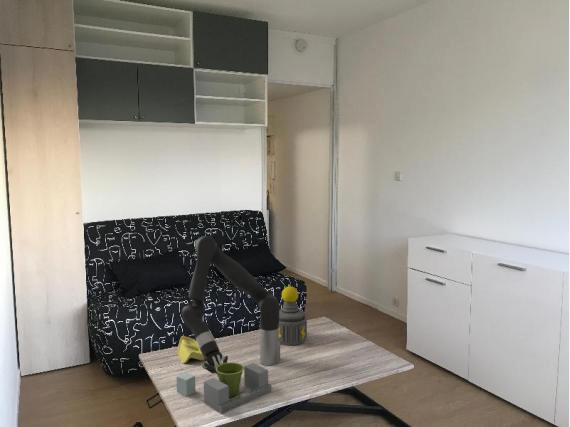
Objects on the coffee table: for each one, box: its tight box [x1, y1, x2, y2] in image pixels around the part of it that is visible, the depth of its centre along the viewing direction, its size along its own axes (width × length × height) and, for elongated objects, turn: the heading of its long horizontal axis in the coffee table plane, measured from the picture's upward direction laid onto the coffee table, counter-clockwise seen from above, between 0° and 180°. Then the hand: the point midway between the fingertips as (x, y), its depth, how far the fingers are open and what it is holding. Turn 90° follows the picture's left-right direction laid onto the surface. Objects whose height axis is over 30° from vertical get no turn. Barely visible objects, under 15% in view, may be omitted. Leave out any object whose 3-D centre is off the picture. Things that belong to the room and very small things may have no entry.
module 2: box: [203, 377, 230, 413], centre depth 189 cm, size 5×10×9 cm, turn 44°
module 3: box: [243, 362, 269, 390], centre depth 203 cm, size 5×10×9 cm, turn 44°
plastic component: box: [177, 335, 205, 364], centre depth 239 cm, size 20×7×10 cm
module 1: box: [175, 372, 196, 397], centre depth 200 cm, size 5×6×7 cm
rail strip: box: [218, 383, 272, 415], centre depth 192 cm, size 26×2×3 cm, turn 134°
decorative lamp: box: [279, 286, 308, 346], centre depth 259 cm, size 19×19×30 cm
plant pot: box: [216, 362, 245, 398], centre depth 198 cm, size 12×12×11 cm
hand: (223, 379), depth 202 cm, fingers closed
